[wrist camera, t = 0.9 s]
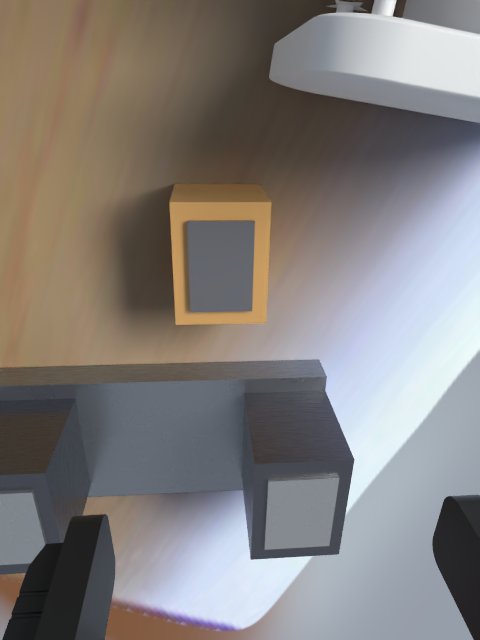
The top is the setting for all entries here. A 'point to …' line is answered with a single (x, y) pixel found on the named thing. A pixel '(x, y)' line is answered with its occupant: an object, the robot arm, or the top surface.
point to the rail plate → (172, 448)
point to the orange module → (220, 253)
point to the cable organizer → (389, 56)
